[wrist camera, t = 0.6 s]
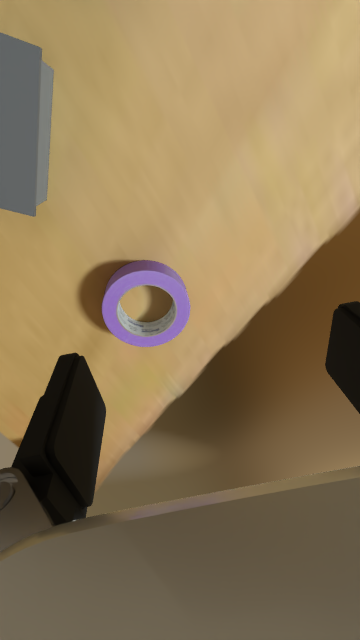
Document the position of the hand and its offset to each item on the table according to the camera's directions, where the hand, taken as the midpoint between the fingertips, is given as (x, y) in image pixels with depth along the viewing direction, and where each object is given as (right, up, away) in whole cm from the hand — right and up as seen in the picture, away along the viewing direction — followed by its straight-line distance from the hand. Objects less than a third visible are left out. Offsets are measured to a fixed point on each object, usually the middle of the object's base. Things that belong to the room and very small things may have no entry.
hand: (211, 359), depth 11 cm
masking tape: (-6, +5, +31) cm, 32 cm away
